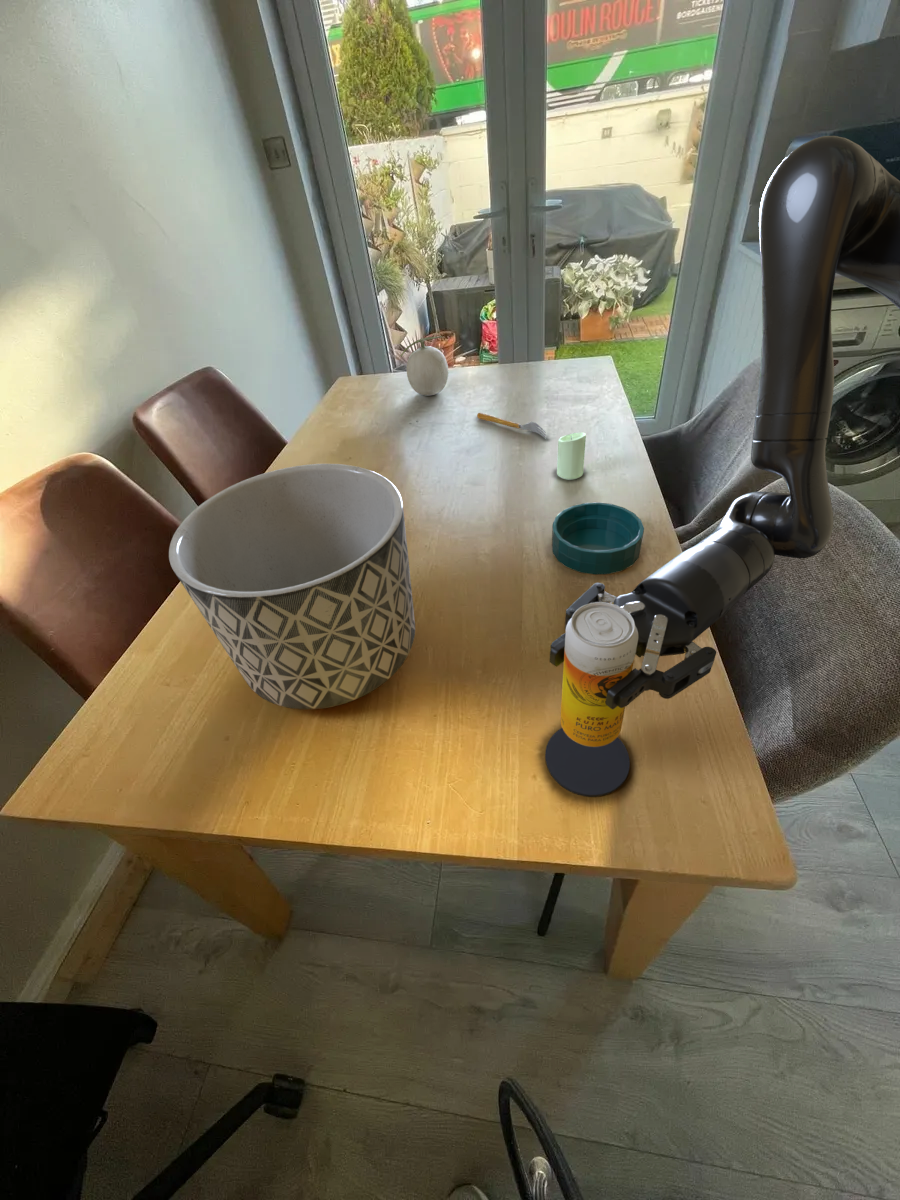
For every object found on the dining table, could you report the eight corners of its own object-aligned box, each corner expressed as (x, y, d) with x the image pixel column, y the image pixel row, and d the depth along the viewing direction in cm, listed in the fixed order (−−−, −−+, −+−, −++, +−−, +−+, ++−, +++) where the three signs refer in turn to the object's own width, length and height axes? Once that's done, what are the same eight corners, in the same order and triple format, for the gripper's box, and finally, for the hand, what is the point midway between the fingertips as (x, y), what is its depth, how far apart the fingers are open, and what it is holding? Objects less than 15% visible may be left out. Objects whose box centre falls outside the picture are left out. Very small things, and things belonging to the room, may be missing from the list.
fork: (474, 413, 128) (545, 431, 116) (478, 408, 128) (550, 425, 117) (476, 422, 130) (546, 440, 118) (481, 417, 130) (551, 435, 119)
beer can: (575, 758, 54) (585, 657, 44) (550, 711, 59) (555, 609, 49) (631, 741, 55) (654, 638, 45) (603, 695, 60) (618, 592, 49)
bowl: (644, 531, 90) (648, 508, 87) (633, 583, 81) (637, 559, 78) (562, 520, 95) (563, 498, 92) (542, 568, 86) (543, 545, 83)
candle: (551, 473, 107) (552, 434, 102) (569, 464, 109) (571, 424, 104) (570, 482, 104) (573, 442, 98) (588, 472, 106) (592, 432, 101)
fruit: (406, 389, 147) (397, 329, 137) (449, 384, 147) (443, 323, 137) (406, 404, 139) (397, 342, 129) (451, 399, 139) (445, 336, 129)
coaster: (634, 736, 62) (635, 734, 62) (622, 808, 56) (623, 806, 56) (555, 716, 65) (555, 714, 65) (536, 782, 59) (536, 780, 59)
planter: (402, 740, 65) (365, 601, 50) (203, 721, 69) (117, 590, 55) (442, 594, 83) (423, 462, 69) (283, 587, 88) (235, 463, 74)
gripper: (637, 533, 58) (523, 609, 51) (770, 598, 49) (654, 701, 43) (629, 586, 63) (523, 662, 56) (748, 654, 54) (641, 754, 48)
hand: (580, 678), depth 50 cm, fingers closed on beer can, 6 cm apart
